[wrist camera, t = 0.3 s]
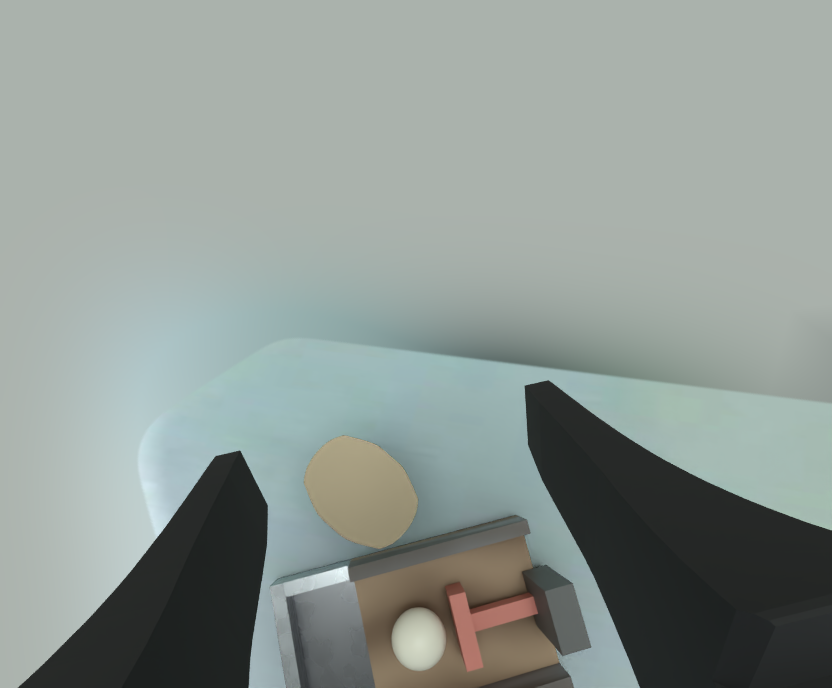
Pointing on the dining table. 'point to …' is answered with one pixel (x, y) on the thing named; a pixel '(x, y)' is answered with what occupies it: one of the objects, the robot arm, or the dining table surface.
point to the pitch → (425, 587)
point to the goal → (321, 630)
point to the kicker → (522, 614)
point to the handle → (361, 492)
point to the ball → (418, 639)
